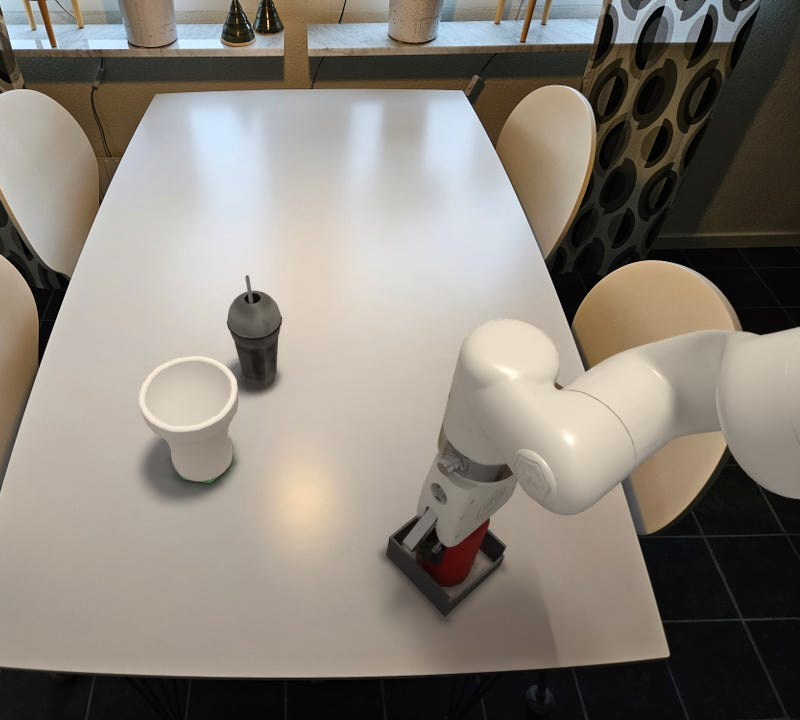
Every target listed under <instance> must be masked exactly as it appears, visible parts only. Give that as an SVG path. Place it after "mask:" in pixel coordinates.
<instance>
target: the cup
mask: <svg viewBox="0 0 800 720" xmlns="http://www.w3.org/2000/svg"><path fill="white" fill-rule="evenodd" d="M237 381H238V380H237V377H236V376H235V375H234V373H233V372H232V371H231V369H230V368H228V367H227V366H226V365H225V364H224V363H222V362H220V361H218V360H216V359H215V358H211V357H208V356H205V355H189V356H183V357H182V356H181V357H177V358H174V359H172V360H169V361H166V362H164V363H163V364H161V365H158V366H157V367H155V368H154V369H153V370H152V371H151V372H150V373H149V374H148V375H147V376H146V378H145V380H144V381H143V383H142V384H141V386H140V389H139V393H138V407H139V410H140V412H141V415H142V418H143V420H144V422H145V425H146V426H147V427H148V428H149V429H150V430H151V431H152V433H153V434H155V435H157V437H160V438H162V439H163V440H165V442H167V445H168V447H169V449H170V459H171V462H172V465H173V467H174V469H175V471H176V473H177V474H178V476H179V477H180V478H181V479H182V480H186V481H193V482H199V483H200V482H201V483H206V484H209V485H210V484H212V483H213V482H215V480H217V478H218V477H220V476H221V475H222V474H223V473H225V472H226V470H227V469H229V468H230V467H231V465H232V464H233V454H234V453H233V444H232V440H231V438H230V437H229V427H230V424H231V422H232V421H233V419H234V417H235V415H236V413H237V411H238V408H239V389H238V382H237Z"/></svg>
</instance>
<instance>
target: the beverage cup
mask: <svg viewBox="0 0 800 720" xmlns="http://www.w3.org/2000/svg"><path fill="white" fill-rule="evenodd" d="M244 278H245V283H246V290H247V291H245V292H242V293H240V294H239V295H238V296H236V297H235V298H234V299H233V301H232V303H231V304H230V305H229V308H228V313H227V319H226V325H227V330H229V332H230V335H231V338H232V340H233V342H234V346H235V348H236V349H235V350H236V354H237V358H238V361H239V366H240V369H241V373H242V376H243V379H244V382H245V384H246V385H247V386H248V387H249V388H251V389H254V390H265V389H268V388H270V387H271V386H272V385H274V383H275V381H276V375H277V368H278V350H279V349H278V348H279V335H280V332H281V328H282V327H281V326H282V324H283V317H282V313H281V310H280V308H279V306H278V303H277V302H276V300H275V299H273V298H272V297H271V295H269V294H267V293H266V292H264V291H260V290H252V286H251V285H252V284H251V278H250V275H248V274H246V275H245V276H244Z"/></svg>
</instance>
